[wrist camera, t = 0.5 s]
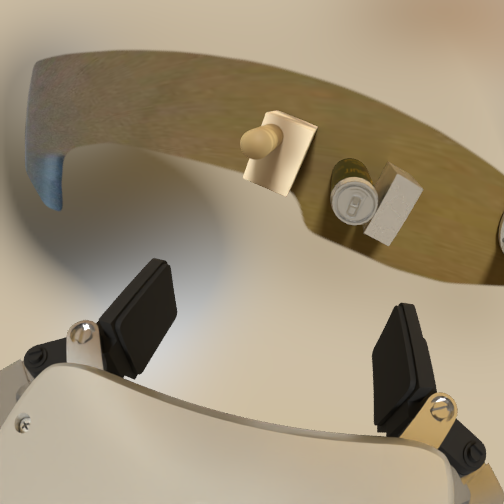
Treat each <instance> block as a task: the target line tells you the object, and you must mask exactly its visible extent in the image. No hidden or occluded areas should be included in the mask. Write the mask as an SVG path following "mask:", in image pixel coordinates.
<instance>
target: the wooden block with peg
mask: <svg viewBox="0 0 504 504" xmlns="http://www.w3.org/2000/svg"><path fill="white" fill-rule="evenodd" d="M317 128H318V127H317V126H315V125H312V124H310V123H308V122H305V121H303V120H301V119H298V118H296V117H293V116H291V115H288V114H286V113H283V112H280V111H272V112H266V115H265V117H264V120H263V123H262V126H261V127H258V128H255V129H252V130H250V131H247V132H246V133H245V134H244V135H243V136H242V138H241V141H240V147H241V150H242V152H243V153H244V154H245V155H246V156H247V157H248V158H250V159H249V162H248V164H247V167H246V170H245V173H244V176H243V179H246V180H248V181H250V182H253V183H255V184H258V185H260V186H262V187H265V188H267V189H269V190H271V191H274V192H276V193H279V194H281V195H283V196H285V197H287V195H288V193H289V191H290V189H291V187H292V185H293V183H294V181H295V179H296V177H297V174H298V172H299V170H300V167H301V165H302V163H303V160H304V158H305V156H306V153H307V151H308V149H309V146H310V144H311V142H312V139H313V137H314V135H315V132H316V130H317Z"/></svg>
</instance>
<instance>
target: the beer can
mask: <svg viewBox="0 0 504 504" xmlns="http://www.w3.org/2000/svg"><path fill="white" fill-rule="evenodd" d="M330 202H331V207H332V209H333V211H334V213H335V214H336V216H337V217H338V218H339V219H340V220H341V221H343V222H345V223H346V224H350V225H361V224H363V223H366V222H368V221H369V220H370V219H371V218H372V217H373V216H374V214H375V212H376V209H377V206H378V194H377V192H376V189H375V187H374V185H373V182H372V180H371V177H370V175H369V173H368V171H367V169H366V167H365V165H364V164H363V163H362V162H360V161H358V160H356V159H352V158H348V159H343V160H341V161H339V162H338V163H337V164H336V165H335V167H334V169H333V171H332V181H331V196H330Z"/></svg>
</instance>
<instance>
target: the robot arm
mask: <svg viewBox="0 0 504 504" xmlns="http://www.w3.org/2000/svg"><path fill="white" fill-rule="evenodd" d="M498 237H499V245H500V248H501V250H502V252H503V253H504V214H503V216H502V219H501V222H500V226H499V233H498ZM176 316H177V307H176V301H175V295H174V288H173V281H172V274H171V268H170V265H168V264H167V262H166V261H164V260H160V259H155V258H153V259H152V260H151V261H150V262H149V263H148V264H147V265H146V266H145V267H144V268H143V269H142V270H141V272H140V273H139V274H138V275H137V276H136V277H135V278H134V279H133V281H132V282H131V283H130V284H129V285H128V286H127V287H126V288H125V289H124V290H123V292H122V293H121V294H120V295H119V296H118V298H116V300H115V301H114V302H113V303H112V304H111V305H110V307H109V308H108V309H107V310H106V311H105V312H104V314H103V315H102V316H101V317H100V318H99V321H98V322H97V323H94V322H93V321H89V320H83V321H79V322H77V323H75V324H74V325H72V326H71V327H70V329H69V330H68V332H67V337H66V338H63V339H59V340H55V341H51V342H47V343H44V344H40V345H36V346H34V347H32V348H31V349H29V350H28V351H27V353H26V355H25V357H24V361H21V360H18V361H16V362H14V363H13V364H11V365H9V366H7V367H6V368H4V369H3V370H0V504H503V502H504V492H503V490H502V488H501V486H500V484H499V482H498V480H497V478H496V476H495V474H494V472H493V470H492V468H491V467H490V465H489V463H488V464H485V462H484V461H485V459H486V449H485V446H484V444H482V442H481V441H480V440H479V439H478V438H477V437H476V436H474V434H473V433H471V432H470V431H469V430H468V429H467V428H466V427H465V426H464V425H463V424H462V423H460V422H459V421H458V420H457V419H456V417H457V413H458V409H457V405H456V403H455V401H454V399H453V398H451V396H449V395H447V394H445V393H441V392H439V393H437V390H436V384H435V380H434V374H433V369H432V364H431V359H430V355H429V351H428V346H427V342H426V340H425V339H424V338H423V335H422V331H421V328H420V324H419V320H418V316H417V313H416V309H415V306H414V305H413V304H407V303H400V304H399V306H395V307H394V309H393V311H392V313H391V315H390V317H389V319H388V322H387V324H386V326H385V328H384V330H383V332H382V334H381V336H380V338H379V340H378V342H377V343H376V345H375V347H374V350H373V353H372V363H373V385H374V424H375V425H377V432H386V433H387V434H386V437H382V436H366V435H354V434H343V433H332V432H323V431H315V430H308V429H301V428H294V427H288V426H282V425H277V424H271V423H267V422H262V421H257V420H253V419H248V418H244V417H240V416H236V415H231V414H228V413H224V412H220V411H216V410H213V409H209V408H206V407H202V406H199V405H196V404H193V403H189V402H186V401H183V400H180V399H177V398H174V397H171V396H168V395H165V394H163V393H160V392H157V391H155V390H152V389H149V388H147V387H144V386H141V385H139V384H136V383H134V382H131V381H129V380H126V379H124V378H123V377H124V376H127V377H130V378H132V379H135V378H136V376H137V375H138V374H141V373H142V372H143V371H144V369H145V367H146V366H147V364H148V362H149V361H150V359H151V357H152V356H153V354H154V352H155V351H156V349H157V348H158V346H159V344H160V343H161V341H162V339H163V338H164V336H165V334H166V333H167V331H168V330H169V328H170V327H171V325H172V323H173V322H174V320H175V318H176Z"/></svg>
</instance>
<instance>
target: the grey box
mask: <svg viewBox="0 0 504 504" xmlns="http://www.w3.org/2000/svg"><path fill="white" fill-rule="evenodd" d="M375 189H376V192H377V194H378V206H377V209H376V212H375V214H374V216H373V217H372V218H371V219H370V220H369V221H368V222H366V223H363V224H362V225H363V231H364V233H365V234H366V235H368V236H370V237H372V238H374V239H376V240H378V241H380V242H382V243H384V244H386V245H387V246H389V245H390V244H391V242H392V241H393V239H394V237H395V236H396V234H397V233H398V231H399V230H400V228H401V226H402V225H403V223H404V221H405V220H406V218H407V217H408V215H409V213H410V212H411V210H412V208H413V206H414V205H415V203H416V201H417V200H418V198H419V196H420V194H421V193H422V191H423V188H422V187H421V186H420V185H419V184H418V183H417V181H416V180H415V179H414V178H413V177H412V176H411V175H410V174H408V173H407V172H405V171H403V170H402V169H400V168H398V167H397V166H395V165H393V164H391V163H390V162H387V164H386V166H385V168H384V170H383V172H382V174H381V175H380V177H379V179H378V181H377V183H376V185H375Z"/></svg>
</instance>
